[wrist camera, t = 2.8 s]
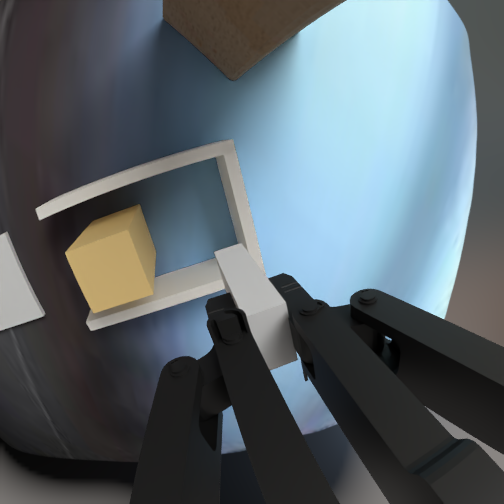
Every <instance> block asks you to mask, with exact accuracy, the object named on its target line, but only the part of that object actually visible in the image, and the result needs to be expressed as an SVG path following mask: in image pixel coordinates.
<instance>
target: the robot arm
mask: <svg viewBox="0 0 504 504" xmlns="http://www.w3.org/2000/svg"><path fill="white" fill-rule="evenodd" d="M214 254H215V257H216V261H217V264H218V267H219V270H220V274H221V277H222V280H223V283H224V286H225V290H226V294H223V295H220V296H217V297H214V298H211V299H208V301H207V304H206V306H205V307H206V311H207V315H208V321H207V328H208V330H209V333H210V335H211V338H212V340H213V343H214V345H213V348H212V349H211V351H210V352H209V353H208V354H206V355H205V356H203V357H202V358H200V359H198V360H196V359H195V358H192V357H190V356H182V357H178V358H175V359H173V360H171V361H170V362H168V363H167V364H166V365H165V366H164V368H163V369H162V371H161V375H160V378H159V382H158V386H157V389H156V393H155V397H154V401H153V404H152V408H151V412H150V416H149V420H148V424H147V428H146V432H145V436H144V441H143V445H142V449H141V453H140V458H139V462H138V466H137V471H136V476H135V480H134V485H133V490H132V494H131V499H130V504H219V502H220V471H221V445H222V422H223V413H222V411H223V410H225V409H226V408H228V407H230V406H231V405H232V407H233V410H234V413H235V416H236V419H237V422H238V426H239V429H240V432H241V435H242V438H243V441H244V444H245V447H246V450H247V452H248V455H249V458H250V461H251V464H252V467H253V470H254V472H255V475H256V478H257V480H258V483H259V486H260V489H261V492H262V494H263V497H264V500H265V502H266V504H340V503H339V502H338V500H337V498H336V496H335V495H334V493H333V491H332V489H331V487H330V486H329V484H328V482H327V480H326V478H325V477H324V475H323V473H322V471H321V469H320V467H319V465H318V464H317V462H316V460H315V458H314V456H313V454H312V452H311V450H310V449H309V447H308V445H307V443H306V441H305V439H304V437H303V435H302V433H301V431H300V429H299V427H298V425H297V424H296V422H295V420H294V418H293V416H292V414H291V412H290V410H289V408H288V406H287V404H286V402H285V400H284V398H283V396H282V394H281V392H280V390H279V388H278V386H277V384H276V382H275V380H274V378H273V376H272V374H271V372H270V370H272V369H275V368H278V367H280V366H283V365H286V364H288V363H291V362H293V361H296V360H298V359H297V354H296V351H297V353H298V354H299V356H300V358H301V363H302V368H303V374H304V378H305V381H307V380H308V377H309V379H310V380H311V382H312V384H313V385H314V387H315V388H316V390H317V392H318V393H319V395H320V396H321V398H322V400H323V401H324V403H325V404H326V406H327V407H328V409H329V411H330V412H331V414H332V415H333V417H334V418H335V420H336V422H337V423H338V425H339V426H340V428H341V429H342V431H343V433H344V434H345V436H346V437H347V439H348V440H349V442H350V444H351V445H352V447H353V448H354V450H355V451H356V453H357V454H358V456H359V457H360V459H361V460H362V462H363V464H364V465H365V467H366V468H367V470H368V471H369V473H370V474H371V476H372V477H373V479H374V480H375V482H376V484H377V485H378V486H379V488H380V489H381V491H382V493H383V494H384V496H385V497H386V499H387V500H388V502H389V503H390V504H504V472H503V470H502V469H501V468H500V467H499V466H498V465H497V464H496V463H495V462H494V461H493V460H492V459H491V458H490V457H489V455H488V454H487V453H486V452H485V451H484V450H483V449H482V448H481V447H480V446H479V445H478V444H477V443H476V442H474V441H472V440H470V439H456V438H454V437H453V436H452V435H451V434H450V433H449V432H448V431H447V430H446V429H445V428H444V427H443V426H442V425H441V423H440V422H439V421H438V420H437V419H436V418H435V417H434V416H433V415H432V414H431V413H430V412H429V411H428V409H427V408H429V409H431V410H432V411H434V412H435V413H437V414H438V415H440V416H441V417H443V418H445V419H446V420H448V421H449V422H451V423H453V424H454V425H456V426H458V427H459V428H461V429H462V430H464V431H465V432H467V433H469V434H470V435H472V436H473V437H475V438H477V439H478V440H480V441H482V442H483V443H485V444H487V445H488V446H490V447H492V448H493V449H495V450H497V451H498V452H500V453H502V454H504V347H502V346H500V345H498V344H496V343H494V342H491V341H489V340H487V339H485V338H483V337H481V336H479V335H476V334H474V333H472V332H470V331H468V330H465V329H463V328H461V327H459V326H457V325H455V324H453V323H450V322H448V321H446V320H444V319H442V318H440V317H437V316H435V315H433V314H431V313H429V312H426V311H424V310H422V309H420V308H417V307H415V306H413V305H411V304H409V303H406V302H404V301H402V300H400V299H397V298H395V297H393V296H391V295H389V294H386V293H384V292H382V291H379V290H376V289H363V290H360V291H358V292H355V293H354V294H353V295H352V296H351V298H350V304H349V305H343V306H338V307H330V306H329V305H328V304H327V303H325V302H324V301H321V300H317V299H313V298H312V297H311V296H310V295H309V294H308V293H307V292H306V291H305V290H304V289H303V288H302V287H301V285H300V284H299V283H297V281H296V280H295V279H294V278H293V277H292V276H290V275H287V274H284V273H282V274H279V275H277V276H274V277H271V278H267V277H266V275H265V274H264V273H263V271H262V270H261V269H260V267H259V266H258V265H257V263H256V262H255V261H254V259H253V258H252V257H251V255H250V254H249V253H248V251H247V250H246V249H245V247H244V246H243V245H242V243H240V244H237V245H233V246H230V247H227V248H224V249H221V250H218V251H215V252H214ZM385 336H387V337H389V338H391V339H392V341H390V340H388V339H386V338H385ZM307 376H308V377H307ZM425 406H426V407H427V408H426V407H425Z"/></svg>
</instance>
